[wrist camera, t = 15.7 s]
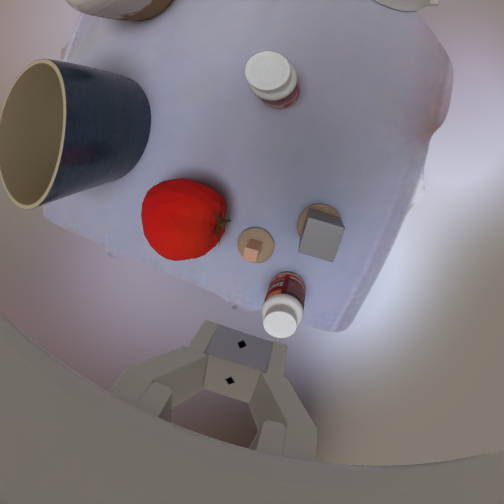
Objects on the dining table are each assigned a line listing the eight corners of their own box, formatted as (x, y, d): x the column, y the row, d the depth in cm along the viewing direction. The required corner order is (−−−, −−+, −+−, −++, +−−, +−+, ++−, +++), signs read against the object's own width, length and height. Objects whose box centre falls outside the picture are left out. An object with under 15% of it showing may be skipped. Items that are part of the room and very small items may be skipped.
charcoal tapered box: (308, 207, 40) (308, 217, 34) (340, 217, 39) (344, 228, 34) (299, 238, 42) (298, 252, 36) (330, 247, 41) (333, 262, 36)
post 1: (242, 223, 44) (235, 231, 40) (278, 232, 43) (274, 242, 39) (235, 255, 46) (227, 266, 42) (269, 265, 46) (265, 277, 42)
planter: (169, 81, 37) (87, 55, 19) (136, 198, 46) (55, 231, 28) (87, 72, 38) (12, 63, 20) (65, 168, 47) (-7, 187, 29)
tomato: (169, 211, 49) (237, 221, 48) (141, 268, 42) (217, 284, 41) (152, 157, 39) (234, 163, 37) (111, 217, 32) (205, 232, 30)
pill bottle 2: (281, 264, 45) (272, 298, 35) (312, 283, 45) (311, 320, 35) (263, 291, 48) (250, 328, 38) (292, 308, 48) (286, 348, 38)
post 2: (304, 198, 40) (303, 206, 35) (347, 211, 40) (353, 222, 34) (292, 240, 43) (289, 254, 37) (333, 252, 42) (337, 268, 37)
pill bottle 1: (308, 91, 34) (307, 70, 24) (278, 117, 37) (267, 105, 26) (279, 65, 33) (267, 37, 23) (250, 90, 36) (229, 71, 26)
